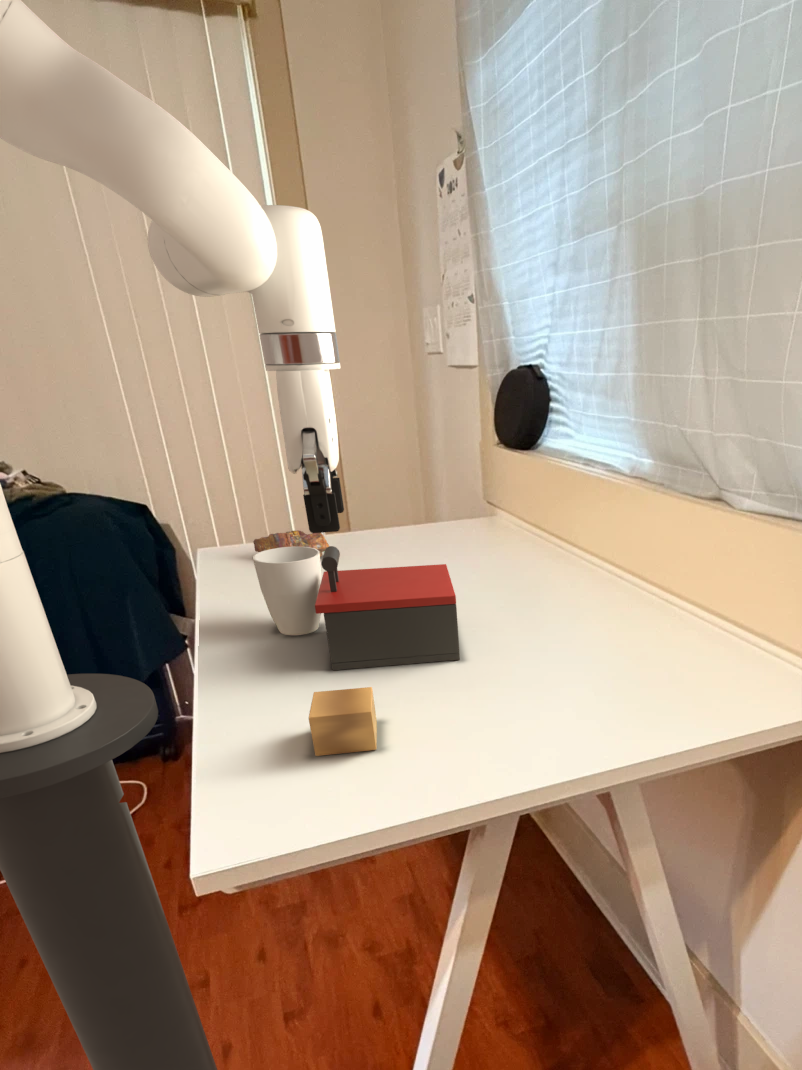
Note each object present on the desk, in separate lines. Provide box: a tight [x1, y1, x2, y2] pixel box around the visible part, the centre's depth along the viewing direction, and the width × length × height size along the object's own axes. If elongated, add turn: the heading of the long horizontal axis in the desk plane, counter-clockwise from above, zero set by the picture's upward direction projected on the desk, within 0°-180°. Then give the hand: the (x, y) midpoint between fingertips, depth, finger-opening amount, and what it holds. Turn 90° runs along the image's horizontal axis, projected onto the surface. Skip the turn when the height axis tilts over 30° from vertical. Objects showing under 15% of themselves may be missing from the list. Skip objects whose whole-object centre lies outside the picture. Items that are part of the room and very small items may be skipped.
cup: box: [252, 547, 323, 636], centre depth 92 cm, size 8×8×10 cm
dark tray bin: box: [323, 603, 461, 671], centre depth 87 cm, size 15×14×7 cm
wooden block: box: [308, 686, 378, 757], centre depth 66 cm, size 6×6×4 cm
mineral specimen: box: [252, 530, 330, 558], centre depth 124 cm, size 12×8×7 cm
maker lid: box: [315, 545, 457, 614], centre depth 85 cm, size 16×14×5 cm
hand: (328, 521), depth 81 cm, fingers open, 9 cm apart
